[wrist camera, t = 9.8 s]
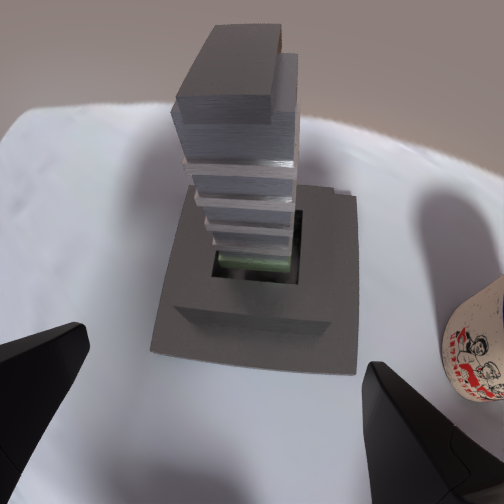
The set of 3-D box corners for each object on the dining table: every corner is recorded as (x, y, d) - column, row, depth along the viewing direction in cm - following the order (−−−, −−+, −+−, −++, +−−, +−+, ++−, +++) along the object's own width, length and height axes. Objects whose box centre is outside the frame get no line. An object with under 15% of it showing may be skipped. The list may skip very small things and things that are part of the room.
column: (289, 280, 18) (301, 96, 7) (219, 274, 18) (149, 99, 7) (294, 208, 20) (302, 24, 9) (232, 204, 20) (195, 27, 9)
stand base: (352, 375, 20) (379, 366, 14) (154, 353, 21) (117, 336, 16) (353, 203, 26) (369, 155, 20) (191, 192, 27) (174, 144, 22)
